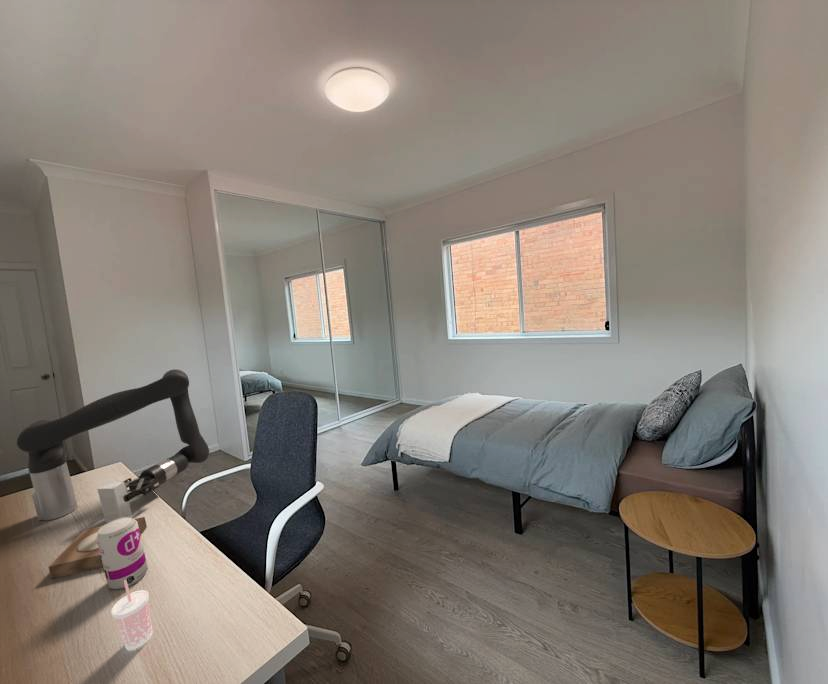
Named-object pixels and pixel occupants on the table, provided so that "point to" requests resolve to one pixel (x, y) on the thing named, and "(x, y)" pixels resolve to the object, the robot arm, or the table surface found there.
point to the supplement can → (121, 552)
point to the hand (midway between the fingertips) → (114, 498)
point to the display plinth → (83, 553)
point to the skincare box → (114, 501)
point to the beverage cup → (133, 618)
